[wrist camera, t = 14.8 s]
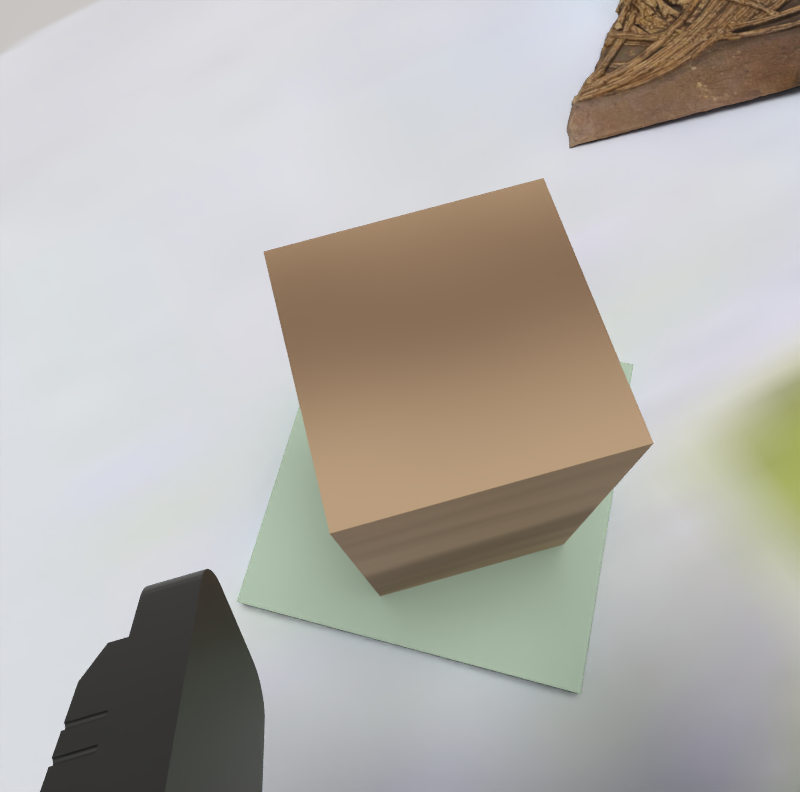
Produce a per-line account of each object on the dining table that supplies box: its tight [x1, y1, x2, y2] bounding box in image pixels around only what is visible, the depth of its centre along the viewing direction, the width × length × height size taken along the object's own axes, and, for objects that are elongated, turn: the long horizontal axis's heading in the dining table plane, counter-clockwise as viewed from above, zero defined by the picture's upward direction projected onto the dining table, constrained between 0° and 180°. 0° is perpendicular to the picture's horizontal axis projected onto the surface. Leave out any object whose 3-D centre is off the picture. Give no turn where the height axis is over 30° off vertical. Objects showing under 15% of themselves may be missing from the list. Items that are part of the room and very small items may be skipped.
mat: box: [237, 362, 633, 694], centre depth 21 cm, size 9×9×1 cm
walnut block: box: [264, 178, 653, 596], centre depth 16 cm, size 5×5×9 cm
